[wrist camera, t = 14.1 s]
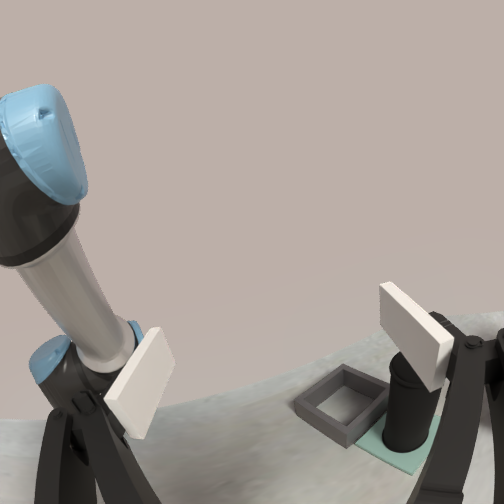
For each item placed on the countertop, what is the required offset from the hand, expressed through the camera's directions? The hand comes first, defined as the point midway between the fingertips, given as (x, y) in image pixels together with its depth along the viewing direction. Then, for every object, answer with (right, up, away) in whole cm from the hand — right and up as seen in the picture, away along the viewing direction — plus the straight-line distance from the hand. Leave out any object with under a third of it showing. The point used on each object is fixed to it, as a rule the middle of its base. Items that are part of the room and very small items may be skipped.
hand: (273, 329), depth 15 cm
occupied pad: (+23, -25, +16) cm, 38 cm away
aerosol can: (+23, -25, +16) cm, 37 cm away
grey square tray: (+16, -24, +26) cm, 39 cm away
